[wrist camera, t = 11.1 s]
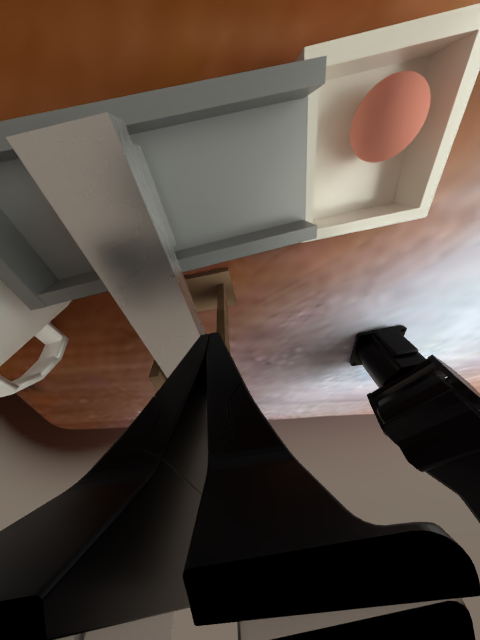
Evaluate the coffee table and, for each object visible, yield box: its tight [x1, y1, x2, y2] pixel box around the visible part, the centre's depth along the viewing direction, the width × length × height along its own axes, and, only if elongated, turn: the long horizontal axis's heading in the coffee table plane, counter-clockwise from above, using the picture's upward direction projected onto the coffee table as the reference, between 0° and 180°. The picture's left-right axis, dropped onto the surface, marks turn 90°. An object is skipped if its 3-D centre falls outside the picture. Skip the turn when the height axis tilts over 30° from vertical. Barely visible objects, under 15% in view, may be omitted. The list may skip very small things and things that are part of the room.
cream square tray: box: [295, 3, 480, 243], centre depth 14 cm, size 10×10×4 cm
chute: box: [0, 56, 327, 310], centre depth 13 cm, size 8×18×8 cm, turn 100°
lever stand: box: [149, 268, 236, 390], centre depth 17 cm, size 4×6×11 cm, turn 100°
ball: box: [350, 71, 431, 163], centre depth 12 cm, size 4×4×4 cm
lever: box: [6, 112, 206, 378], centre depth 14 cm, size 22×5×6 cm, turn 10°
